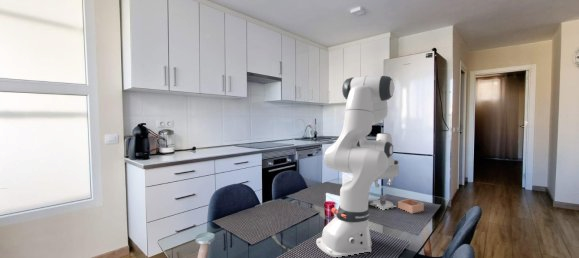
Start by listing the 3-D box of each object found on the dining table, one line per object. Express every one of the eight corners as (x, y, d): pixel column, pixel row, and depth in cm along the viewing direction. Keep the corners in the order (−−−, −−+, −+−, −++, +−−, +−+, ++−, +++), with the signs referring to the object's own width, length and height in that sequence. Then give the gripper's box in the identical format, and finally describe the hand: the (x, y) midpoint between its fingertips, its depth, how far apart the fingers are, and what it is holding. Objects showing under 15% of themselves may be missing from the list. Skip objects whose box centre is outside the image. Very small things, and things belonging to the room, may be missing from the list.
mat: (383, 210, 138) (383, 209, 138) (369, 204, 147) (369, 203, 147) (396, 207, 142) (396, 206, 142) (382, 201, 151) (382, 200, 151)
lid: (383, 209, 137) (383, 200, 137) (368, 203, 147) (368, 194, 147) (397, 206, 142) (397, 197, 141) (382, 200, 152) (382, 192, 151)
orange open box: (412, 213, 132) (412, 206, 132) (397, 208, 140) (398, 201, 140) (423, 211, 136) (423, 203, 136) (409, 205, 144) (409, 198, 144)
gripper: (373, 164, 136) (373, 190, 137) (401, 161, 145) (400, 184, 146) (365, 162, 141) (365, 187, 142) (392, 159, 150) (391, 182, 151)
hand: (383, 185), depth 144 cm, fingers open, 8 cm apart
